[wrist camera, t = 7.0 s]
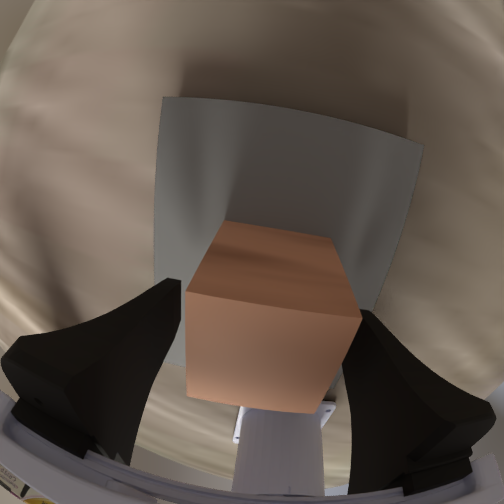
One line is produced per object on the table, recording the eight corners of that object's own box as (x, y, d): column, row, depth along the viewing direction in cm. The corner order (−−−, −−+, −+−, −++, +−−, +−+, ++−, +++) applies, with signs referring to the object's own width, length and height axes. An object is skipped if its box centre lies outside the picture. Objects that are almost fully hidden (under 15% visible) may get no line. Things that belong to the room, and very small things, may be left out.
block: (306, 322, 15) (314, 413, 10) (215, 307, 15) (186, 395, 10) (330, 238, 13) (362, 318, 7) (224, 220, 13) (185, 291, 8)
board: (330, 368, 19) (333, 388, 17) (169, 342, 19) (160, 361, 18) (407, 142, 12) (424, 145, 10) (177, 99, 13) (162, 96, 11)
